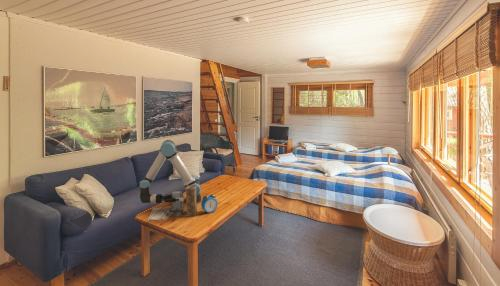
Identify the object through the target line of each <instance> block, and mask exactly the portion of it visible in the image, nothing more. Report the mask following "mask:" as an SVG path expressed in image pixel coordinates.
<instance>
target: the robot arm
mask: <svg viewBox="0 0 500 286" xmlns="http://www.w3.org/2000/svg"><path fill="white" fill-rule="evenodd" d="M166 160H167V161H169V162H170V163H171V164H172V166H173V168H174V170H175V171H176V173H177V174H178V176H179V177H180V179H181V180H182V181H183V186H184V189H185V188H186V187H187V186H197V188H196V203H200V202H202V200H203V198H202V195H201V190H202V189H201V188H202V187H201V185H200V184H201V183H200V177H199V176H196V175H195V176H192V174H191V173H190V171H189V169H188V168H187V166H186V164H185V163H184V161H183V160H182V158H181V156H180V155H179V150H178V148H177V147H176V144H175V142H174V141H173V140H170V139H167V140H164V141H163V142H162V144H161V145H160V149H159V152H158V155H157V156H156V158H155V160H154V161H153V163H152V164H151V166H150V168H149V169H148V171H147V173H146V175H145V176H144V177H143V179H142V180H141V181H139V194H138V195H137V202H138V204H161V203H163V204H164V203H172V202H175V201H183V202H184V200H185V202H186V195H183V198H172V194H168V193H167V194H165V195H162V193H150V191H151V190H150V187H151V185H152V184H153V181H154V180H155V178H156V176H157V175H158V173H159V171H160V169H161V168H162V166H163V165H164V163H165V161H166Z"/></svg>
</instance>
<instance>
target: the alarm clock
mask: <svg viewBox="0 0 500 286" xmlns="http://www.w3.org/2000/svg"><path fill="white" fill-rule="evenodd" d="M216 197H217V196H216V195H215V194H214V193H211V194H209V195H207V194H205V195H203V197H202V200H201V201H200V202H201V203H200V207H201V209H202V210H203V211H204V212H206V214H208V213H210V214H211V213H213V212H215V211H216V209H218V208H217V207H218V204H219V202H218V200H217V199H216Z"/></svg>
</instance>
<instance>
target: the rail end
mask: <svg viewBox="0 0 500 286" xmlns="http://www.w3.org/2000/svg"><path fill="white" fill-rule="evenodd" d="M171 195H172V198H183V196H184V191H183V190H181V191H179V190H178V191H176V190H175V191H172V192H171ZM171 203H172V209H184V200H183V201H175V202H171Z"/></svg>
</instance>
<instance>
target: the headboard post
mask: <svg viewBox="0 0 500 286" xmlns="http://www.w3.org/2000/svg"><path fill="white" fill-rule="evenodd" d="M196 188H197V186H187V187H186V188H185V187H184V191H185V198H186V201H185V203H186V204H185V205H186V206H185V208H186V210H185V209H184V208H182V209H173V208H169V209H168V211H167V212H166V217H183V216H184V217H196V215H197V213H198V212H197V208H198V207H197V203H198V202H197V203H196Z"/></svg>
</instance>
